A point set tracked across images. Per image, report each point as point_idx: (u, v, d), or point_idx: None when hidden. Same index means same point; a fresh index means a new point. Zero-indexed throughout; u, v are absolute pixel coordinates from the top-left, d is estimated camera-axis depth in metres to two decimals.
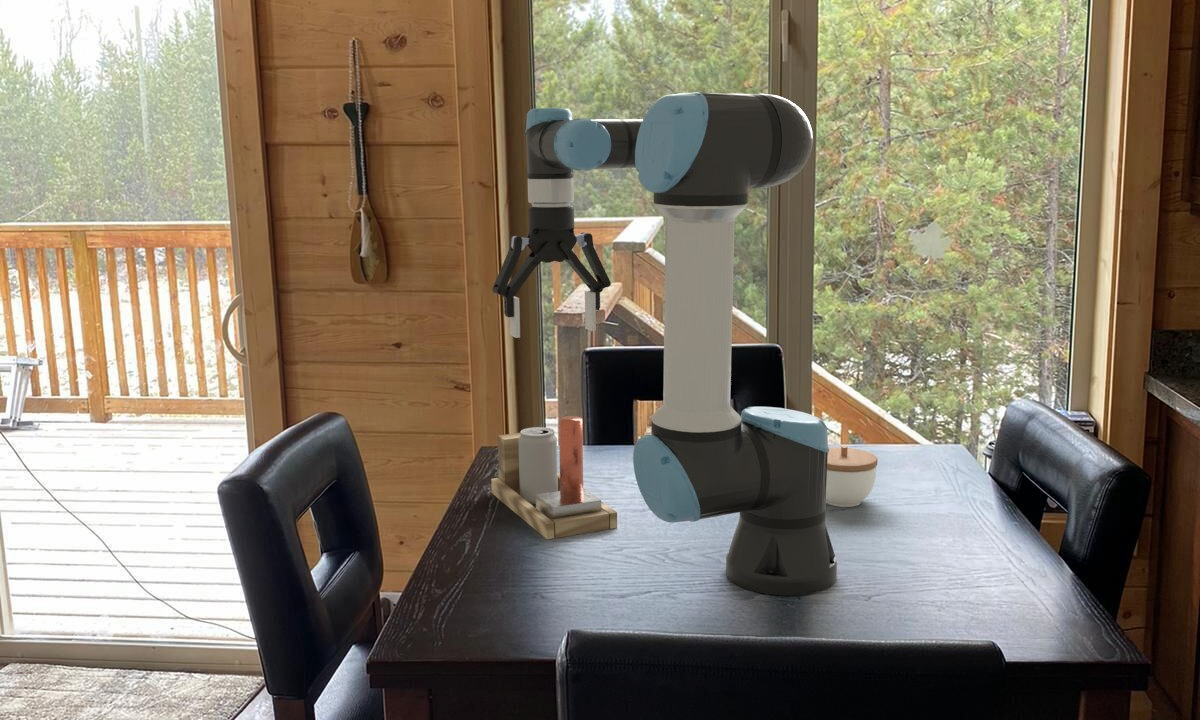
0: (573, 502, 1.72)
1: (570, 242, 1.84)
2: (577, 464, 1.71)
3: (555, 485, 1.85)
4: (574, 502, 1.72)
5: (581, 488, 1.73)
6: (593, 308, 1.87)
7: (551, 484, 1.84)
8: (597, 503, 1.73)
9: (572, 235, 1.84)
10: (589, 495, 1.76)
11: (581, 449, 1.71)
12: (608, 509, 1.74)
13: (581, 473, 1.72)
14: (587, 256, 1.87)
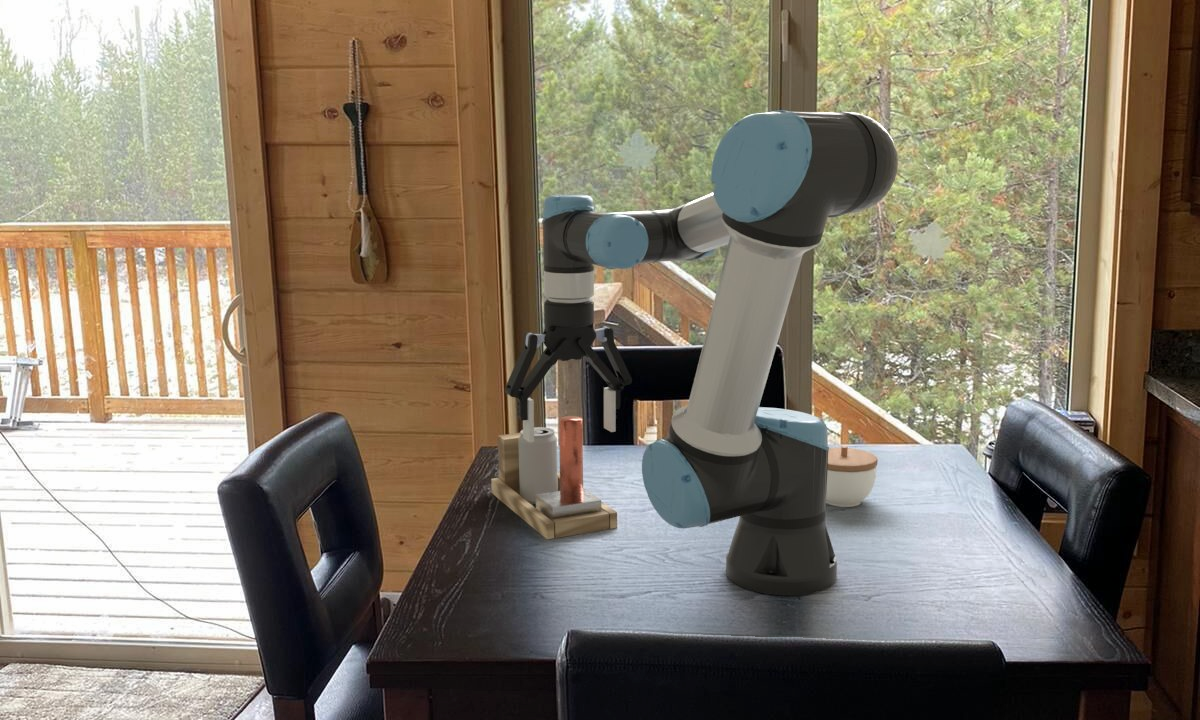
0: (573, 502, 1.72)
1: (589, 338, 1.69)
2: (577, 464, 1.71)
3: (555, 485, 1.85)
4: (574, 502, 1.72)
5: (581, 488, 1.73)
6: (613, 407, 1.73)
7: (551, 484, 1.84)
8: (597, 503, 1.73)
9: (591, 331, 1.69)
10: (589, 495, 1.76)
11: (581, 449, 1.71)
12: (608, 509, 1.74)
13: (581, 473, 1.72)
14: (607, 351, 1.72)
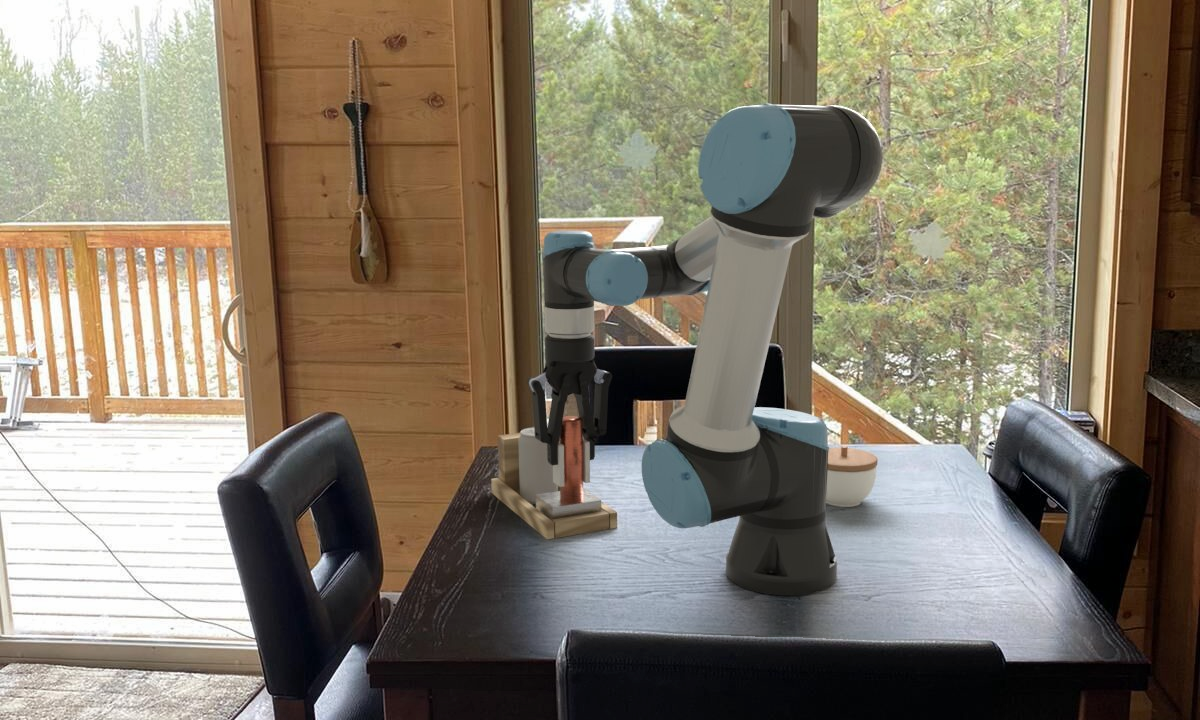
0: (573, 502, 1.72)
1: (589, 372, 1.70)
2: (577, 464, 1.71)
3: (555, 485, 1.85)
4: (574, 502, 1.72)
5: (581, 488, 1.73)
6: (587, 458, 1.72)
7: (551, 484, 1.84)
8: (597, 503, 1.73)
9: (594, 366, 1.70)
10: (589, 495, 1.76)
11: (581, 449, 1.71)
12: (608, 509, 1.74)
13: (581, 473, 1.72)
14: (596, 395, 1.73)
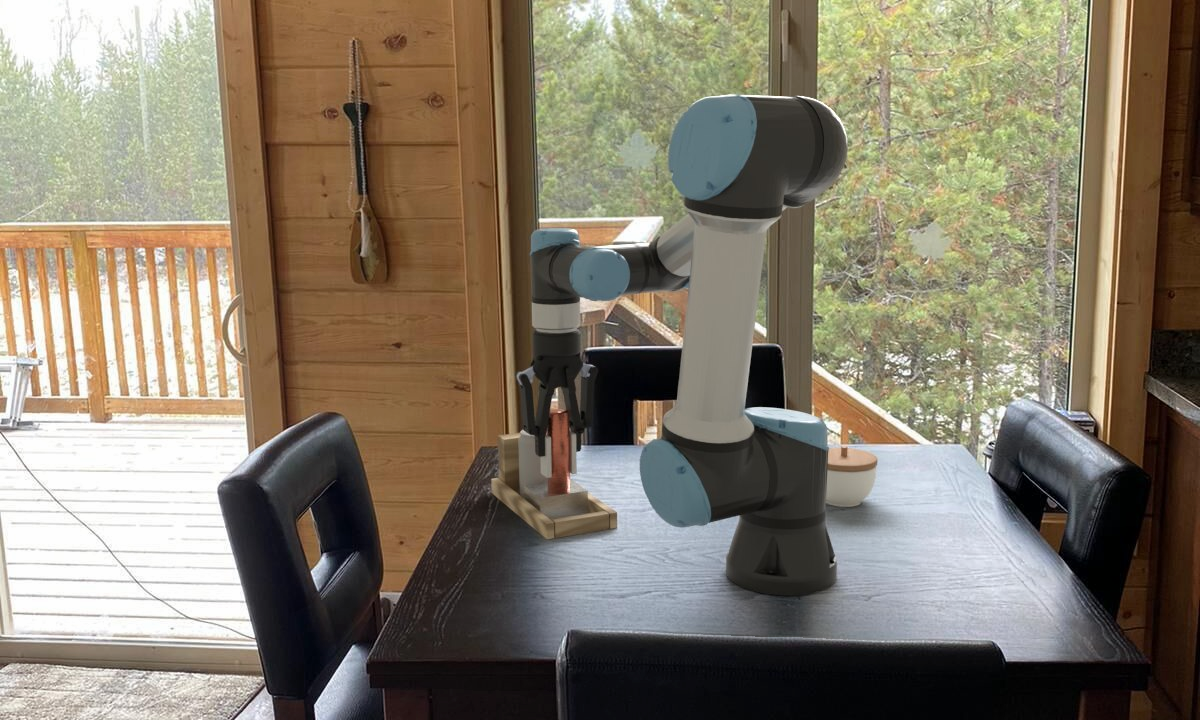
0: (560, 493, 1.77)
1: (575, 366, 1.75)
2: (564, 456, 1.76)
3: None
4: (561, 493, 1.77)
5: (568, 479, 1.77)
6: (574, 450, 1.77)
7: None
8: (584, 494, 1.78)
9: (580, 360, 1.75)
10: (576, 486, 1.80)
11: (568, 441, 1.76)
12: (608, 509, 1.74)
13: (568, 464, 1.77)
14: (583, 388, 1.77)
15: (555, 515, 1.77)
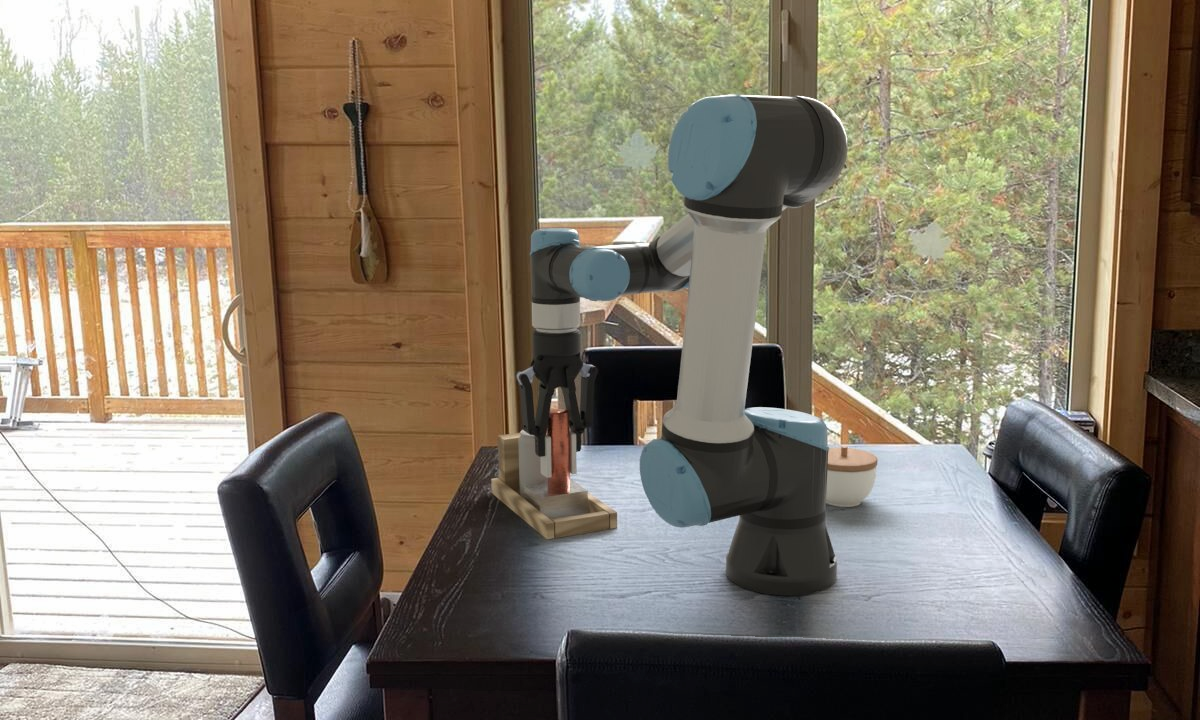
0: (560, 493, 1.77)
1: (575, 366, 1.75)
2: (564, 456, 1.76)
3: None
4: (561, 493, 1.77)
5: (568, 479, 1.77)
6: (574, 450, 1.77)
7: None
8: (584, 494, 1.78)
9: (580, 360, 1.75)
10: (576, 486, 1.80)
11: (568, 441, 1.76)
12: (608, 509, 1.74)
13: (568, 464, 1.77)
14: (583, 388, 1.77)
15: (555, 515, 1.77)
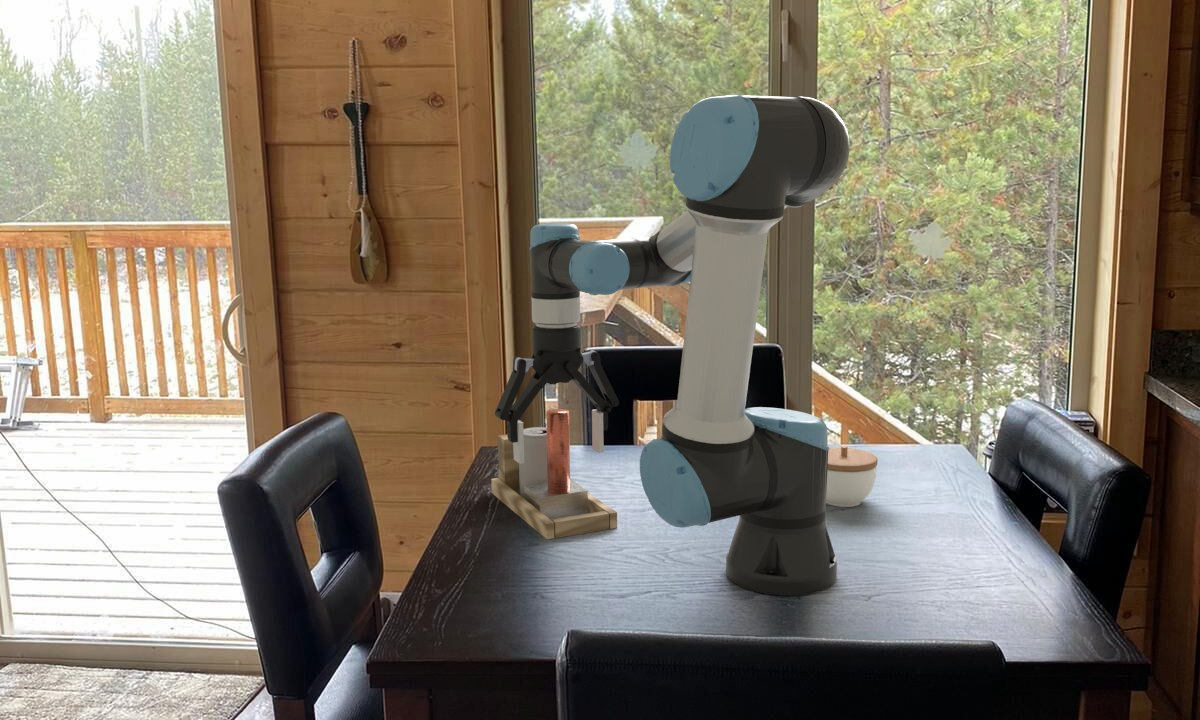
0: (560, 493, 1.77)
1: (576, 362, 1.74)
2: (564, 456, 1.76)
3: None
4: (561, 493, 1.77)
5: (568, 479, 1.77)
6: (601, 429, 1.78)
7: None
8: (584, 494, 1.78)
9: (578, 354, 1.74)
10: (576, 486, 1.80)
11: (568, 441, 1.76)
12: (608, 509, 1.74)
13: (568, 464, 1.77)
14: (594, 374, 1.78)
15: (555, 515, 1.77)
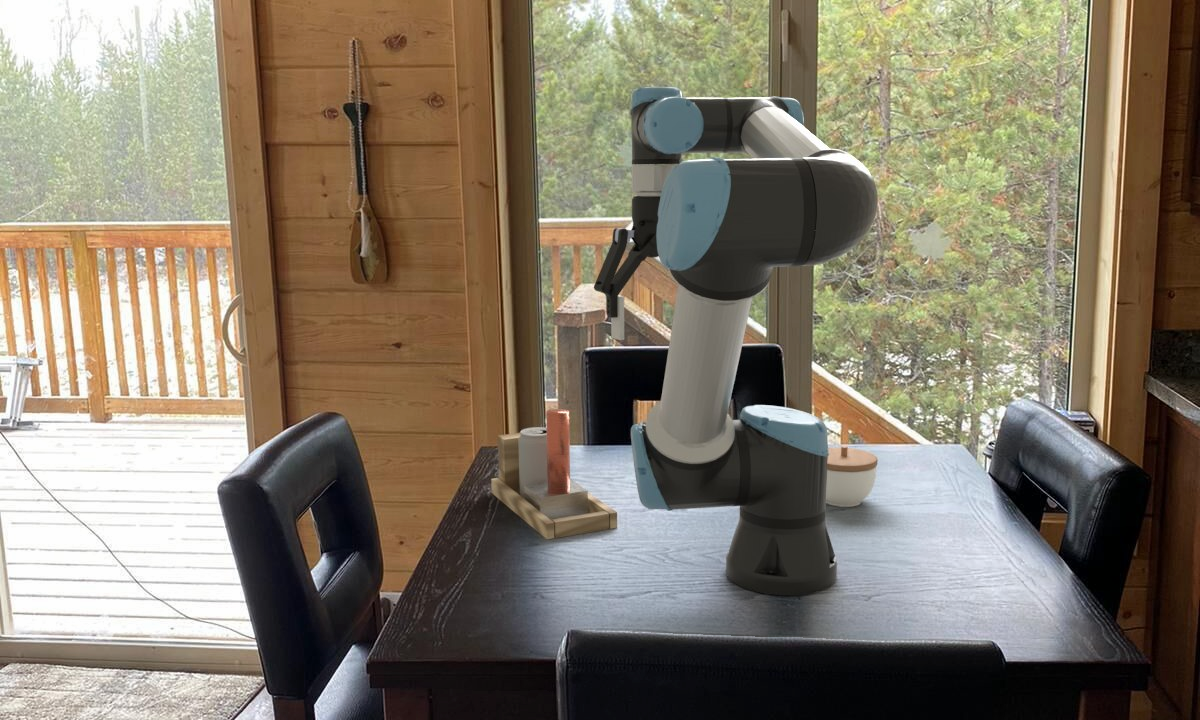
0: (560, 493, 1.77)
1: None
2: (564, 456, 1.76)
3: None
4: (561, 493, 1.77)
5: (568, 479, 1.77)
6: None
7: None
8: (584, 494, 1.78)
9: None
10: (576, 486, 1.80)
11: (568, 441, 1.76)
12: (608, 509, 1.74)
13: (568, 464, 1.77)
14: None
15: (555, 515, 1.77)
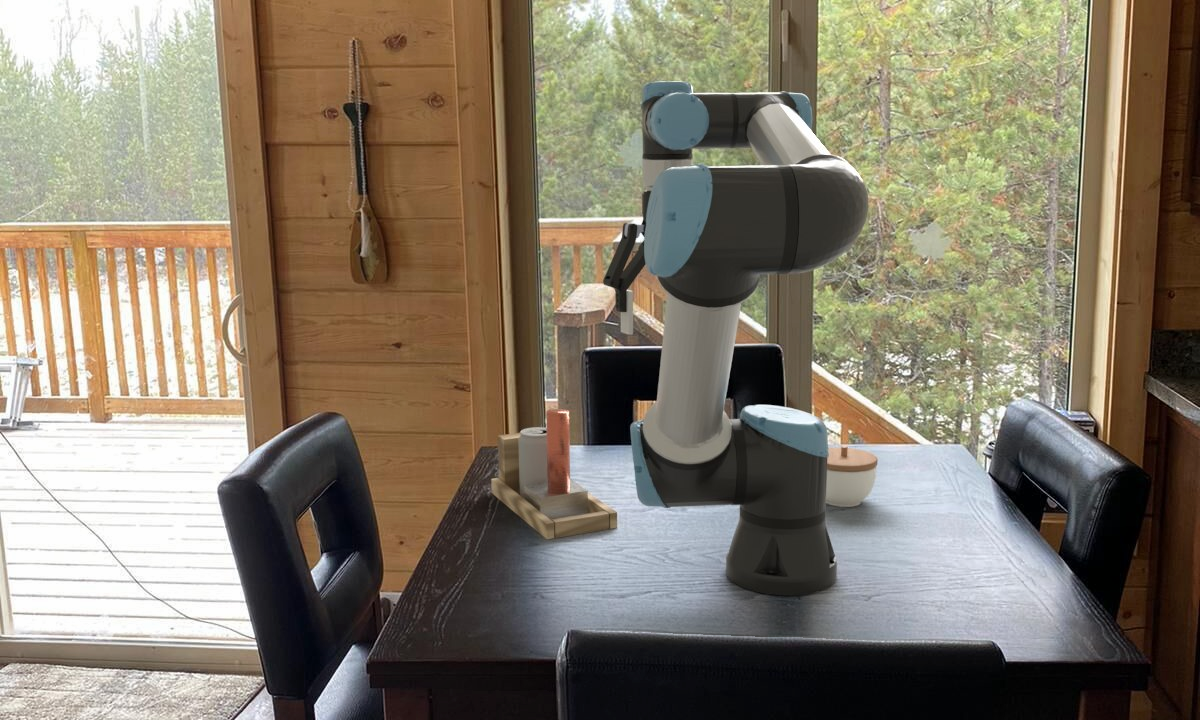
0: (560, 493, 1.77)
1: None
2: (564, 456, 1.76)
3: None
4: (561, 493, 1.77)
5: (568, 479, 1.77)
6: None
7: None
8: (584, 494, 1.78)
9: None
10: (576, 486, 1.80)
11: (568, 441, 1.76)
12: (608, 509, 1.74)
13: (568, 464, 1.77)
14: None
15: (555, 515, 1.77)
